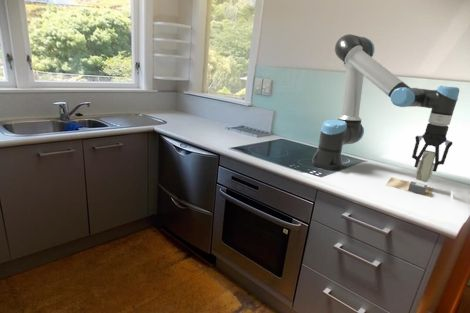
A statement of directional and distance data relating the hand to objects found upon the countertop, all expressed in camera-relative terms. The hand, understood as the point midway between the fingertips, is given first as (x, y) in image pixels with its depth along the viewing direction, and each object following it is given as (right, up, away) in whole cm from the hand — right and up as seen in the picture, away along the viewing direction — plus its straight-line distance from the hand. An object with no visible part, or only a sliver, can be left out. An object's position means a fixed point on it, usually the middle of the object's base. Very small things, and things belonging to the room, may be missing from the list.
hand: (422, 176), depth 127 cm
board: (-5, -6, +1) cm, 8 cm away
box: (0, -2, +1) cm, 2 cm away
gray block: (-5, -6, -4) cm, 9 cm away
